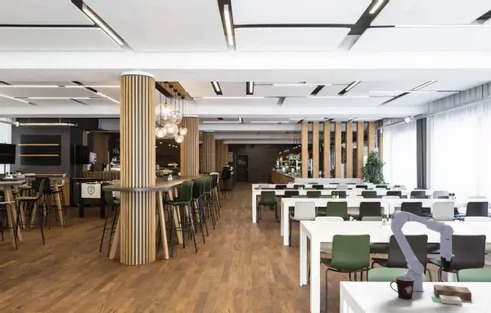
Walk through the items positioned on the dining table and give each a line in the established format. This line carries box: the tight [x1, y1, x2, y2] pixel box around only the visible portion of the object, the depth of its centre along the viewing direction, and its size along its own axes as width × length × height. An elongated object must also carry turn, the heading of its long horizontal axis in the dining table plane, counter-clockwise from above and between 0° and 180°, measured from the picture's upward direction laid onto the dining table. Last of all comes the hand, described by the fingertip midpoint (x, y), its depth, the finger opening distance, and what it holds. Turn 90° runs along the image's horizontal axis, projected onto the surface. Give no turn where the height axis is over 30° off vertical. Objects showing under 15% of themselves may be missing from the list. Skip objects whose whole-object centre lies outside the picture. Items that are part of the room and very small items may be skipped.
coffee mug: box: [389, 275, 414, 301], centre depth 200 cm, size 12×9×10 cm
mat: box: [430, 296, 441, 304], centre depth 195 cm, size 11×8×1 cm
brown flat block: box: [433, 283, 473, 302], centre depth 203 cm, size 16×10×4 cm, turn 71°
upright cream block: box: [439, 295, 463, 306], centre depth 193 cm, size 9×6×2 cm, turn 71°
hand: (446, 271), depth 213 cm, fingers closed
